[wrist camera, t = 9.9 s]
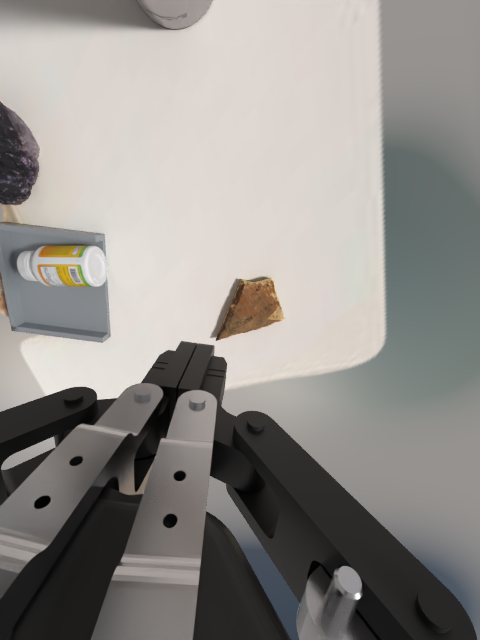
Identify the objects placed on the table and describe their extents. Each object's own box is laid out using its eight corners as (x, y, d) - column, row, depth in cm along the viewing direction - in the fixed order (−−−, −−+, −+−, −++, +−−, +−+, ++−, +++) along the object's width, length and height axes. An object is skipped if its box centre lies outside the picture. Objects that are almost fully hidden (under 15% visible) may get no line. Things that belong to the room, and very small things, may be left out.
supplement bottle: (110, 252, 42) (44, 251, 42) (88, 239, 36) (13, 239, 37) (107, 290, 41) (42, 289, 42) (85, 282, 36) (10, 281, 37)
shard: (217, 336, 46) (215, 341, 44) (199, 291, 43) (196, 294, 41) (285, 317, 44) (286, 322, 42) (270, 268, 41) (270, 271, 40)
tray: (5, 221, 41) (-10, 222, 39) (104, 234, 40) (95, 235, 38) (23, 324, 47) (11, 330, 44) (110, 336, 46) (102, 342, 44)
